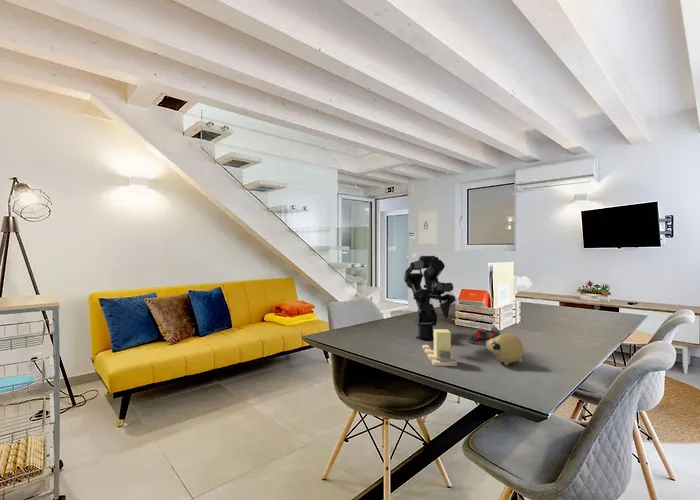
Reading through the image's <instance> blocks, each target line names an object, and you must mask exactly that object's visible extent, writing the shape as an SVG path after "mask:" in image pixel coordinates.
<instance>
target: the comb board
mask: <svg viewBox="0 0 700 500" xmlns="http://www.w3.org/2000/svg"><path fill="white" fill-rule="evenodd" d="M422 350H423V351H424V353H425V354H426V356H427V357H428V359H429V360H430V362H431V364H432V365H433V366H435V367H438V366H439V367H440V366H441V367H448V366H449V367H452V366H453V367H457V366H458V362H457V360H456V359H455V358H454V357H453V356H452V352H451V353H450V352H449V351H439V359H436V358H435V356H434V340H430V341H427V344H422Z"/></svg>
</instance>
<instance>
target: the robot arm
mask: <svg viewBox="0 0 700 500" xmlns="http://www.w3.org/2000/svg"><path fill="white" fill-rule="evenodd" d="M422 269H423V270H424V269H425V270H424V271H423V272H422ZM443 270H445V263H444V262H443V261H442V260H441V259H439V257H438V256H435V255H420V256H419V257H418V260H415V261H411V262H410V264H409V266H408V267H407V269H406V270H405V272H404V277H403V280H404V282H405V284H406V286H407V287H408V288H409V289H411V290H412V291H411V292H412V296H413V300H415V303H416V306H417V312H416V316H415V317H414V324H415V325H416V326H417V327H418V328H417V329H418V332H417V333H418V334H417V336H415V338H416V339H418V340H421V341H433V340H434V329H433V327H436V326H437V323H438V314H437V312H436V309H435V308H434V305H433V304H432V303H430V302H431V301H430V300H437V301H439V302H438V303H439V307H440V309H441V312H442V314H443V317H444V318H445V319H448V317H449V313H450V307H451V304H454V303H455V302H456V301H457V299H456V296H455V295H453V294H450V293H451V292H452V291H454V284H453V283H452V282H441V281H439V276H440V275H441V273H442V272H443ZM413 271H419V272H413ZM423 278H424V285H423V288H422V285H421V284H422V281H423ZM445 293H446V294H445Z"/></svg>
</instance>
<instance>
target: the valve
mask: <svg viewBox="0 0 700 500" xmlns="http://www.w3.org/2000/svg"><path fill="white" fill-rule="evenodd" d="M490 329H491V330H489V329H484V328H482V327H481V328H480V327H479V328H478V329H477V330H476V331H475V332H472V334H471V337H468V338H467V341H468V343H470V344H475V345H476V344H477V345H479V344H486V341H487V340H488V339H491V338H492V339H493V338H495V337H497V336H499V335H501V334H500V331H499V329H498V327H496V326H492V327H491V328H490Z"/></svg>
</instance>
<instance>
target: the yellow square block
mask: <svg viewBox="0 0 700 500" xmlns="http://www.w3.org/2000/svg"><path fill="white" fill-rule="evenodd" d="M451 334H452V332H451V331H450V330H449V329H443V328H442V329H441V328H438V329H435V328H434V329H433V337H434V339H433V342H434V356H435V358H436V359H439V351H449V352H450V353H451V354H452V335H451Z"/></svg>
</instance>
